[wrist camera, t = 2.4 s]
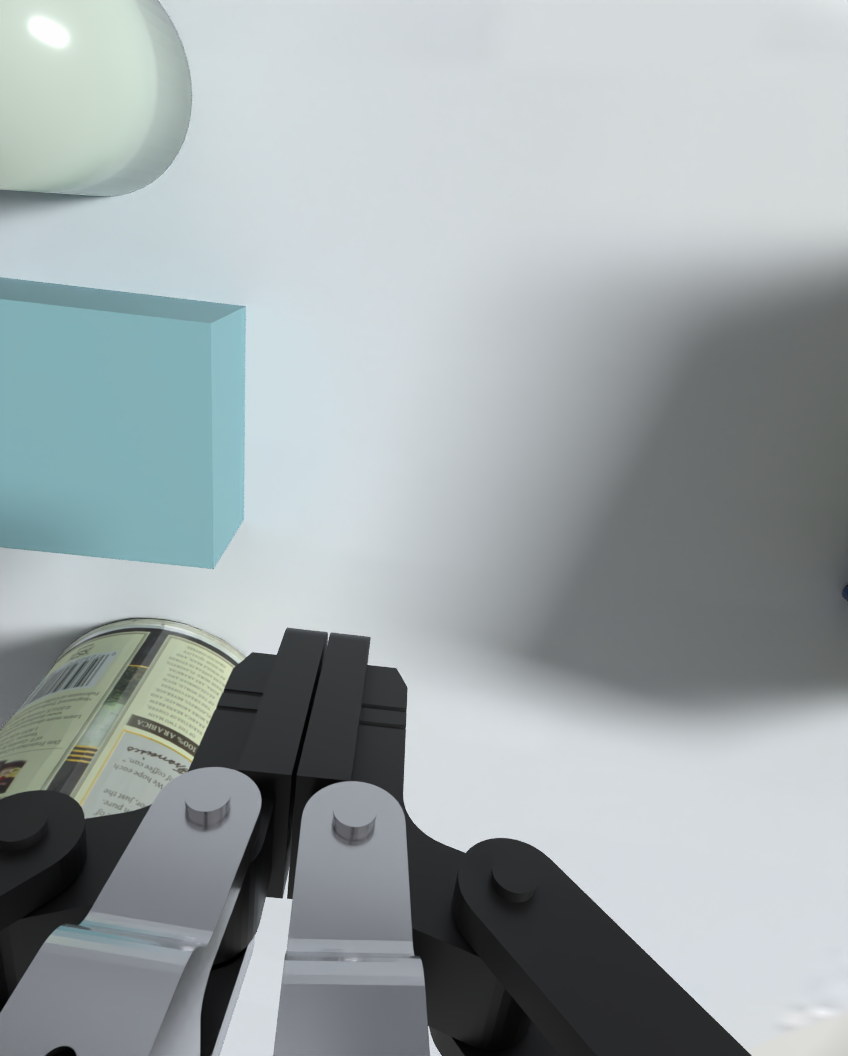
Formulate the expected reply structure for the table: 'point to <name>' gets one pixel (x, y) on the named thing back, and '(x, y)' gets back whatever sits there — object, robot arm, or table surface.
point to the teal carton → (120, 423)
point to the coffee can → (117, 715)
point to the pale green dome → (90, 95)
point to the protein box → (845, 593)
